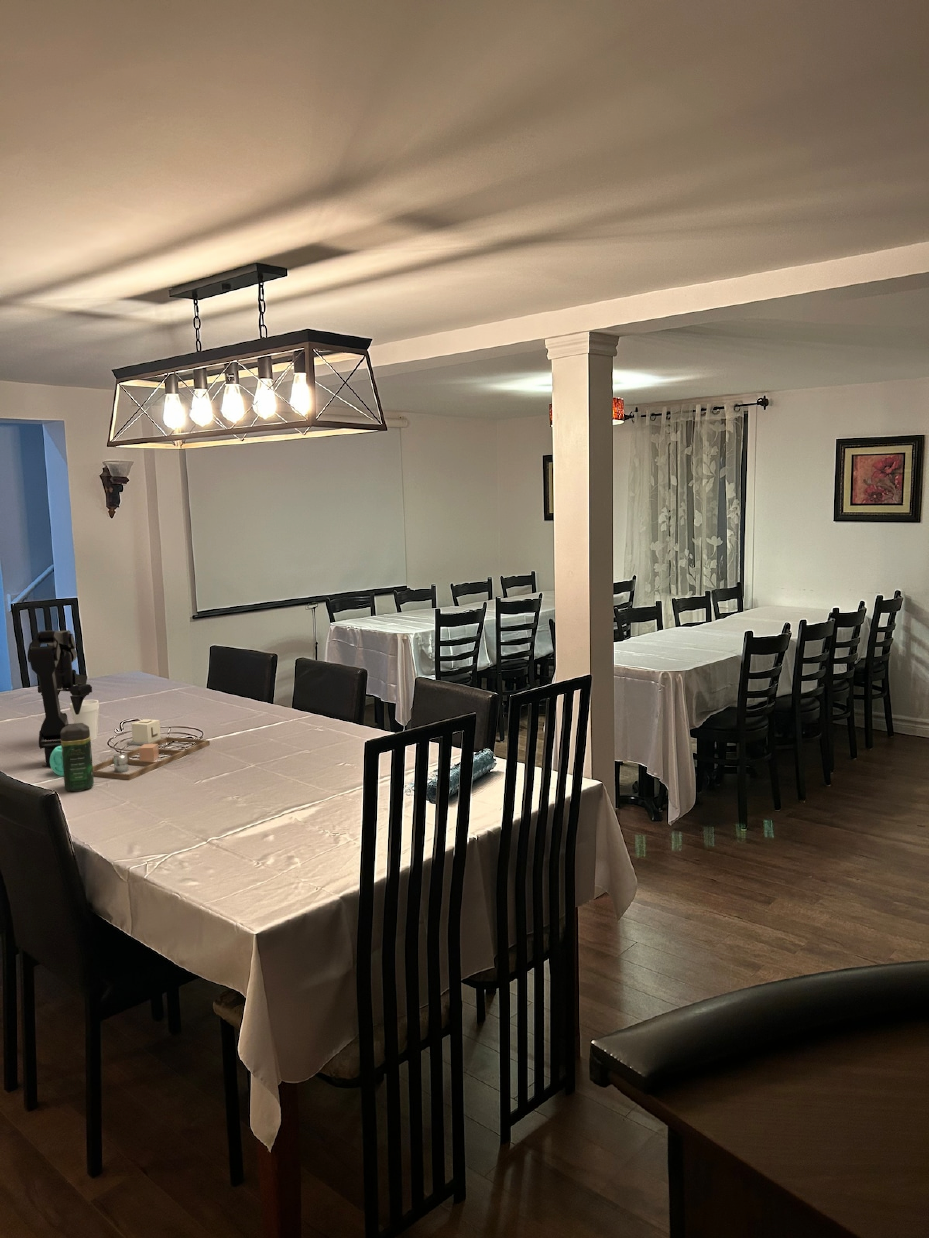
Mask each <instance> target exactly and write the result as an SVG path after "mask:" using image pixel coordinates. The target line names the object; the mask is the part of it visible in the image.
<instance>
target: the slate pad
mask: <svg viewBox="0 0 929 1238" xmlns="http://www.w3.org/2000/svg"><path fill="white" fill-rule="evenodd" d="M163 738H164V737H163V736H162V737H161V739H163ZM158 740H160V739H158ZM158 740H156V741H158ZM153 742H155V741H153ZM153 742H151V743H153ZM144 744H150V743H137V742H133V740H132V741H131V740H130V741H129V742H128V741H127V744H126V745H129V746H139V747H141V746H142V745H144Z"/></svg>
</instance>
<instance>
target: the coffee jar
mask: <svg viewBox="0 0 929 1238" xmlns="http://www.w3.org/2000/svg"><path fill="white" fill-rule="evenodd" d="M60 735H61V739H60V740H61V748H62V760H63V771H64V776H63V785H64V790H65V791H67V792H69V791H71V792H81V791H84V790H88V789H91V788H92V787H93V785H94V776H93V766H94V765H93V754H92V742H91V741H92V740H91V739H90V730H89V726H87V725H85V724H83V723H74V722H73V723H68V725H67V726H66V727H64V728H63V729H62V730H61V733H60Z"/></svg>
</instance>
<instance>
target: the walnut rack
mask: <svg viewBox="0 0 929 1238" xmlns="http://www.w3.org/2000/svg"><path fill="white" fill-rule="evenodd" d="M171 741H178V742H195V743H196V744H194V745H193V746H191V747H188V748H187V749H185V750H184V749H183V750H181V749H178V750H177V749H168V748H167V749H166V748H158V752H159V753H164V754H163V755H167V754H172V755H169V756H168V757H166V758H163V759H161V760H157V761H142V760H140V759H131V757H133V756H136V755H138V754H137V753H139V748H140V747H138V748H136V749H132V750H131V751H127V752H125V754H127V758H128V766H137V767H138V766H139V767H142V768H140V769H138V770H137V769H136V770H135V771H133V772H131V773H115V772H113V771H111V772H110V771H99V770H102V769H104V768H106V767H109V766H111V765H114V758H113V757H112V758H110V759H107V760H105V761H103V762H100V763H97V764H94V765H93V777H95V778H96V777H98V778H106V779H118V780H126V781H130V780H132V779H135V778H138V777H139V776H142V775H145V774H146V773H149V772H151V771H153V770H155V769H158V768H160V767H164V765H167V764H170V763H171V762H172V763H173V762H174V761H176V760H178V759H181V758H183V757H185V756H188V755H189V754H191V753H194V752H197V751H198V750H201V749H203V748H206V747H208V746H210V744H211V743H210V740H206V739H194V738H182V737H171V736H165V737H163V739H160V740H158V741H155V742H153V743H150V744H158V745H159V746H161V745H163V744H162V743H164V744H166V743H172V742H171ZM160 744H161V745H160ZM129 758H130V759H129Z"/></svg>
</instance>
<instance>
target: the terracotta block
mask: <svg viewBox="0 0 929 1238" xmlns="http://www.w3.org/2000/svg"><path fill="white" fill-rule="evenodd" d="M138 748H139V754H138V756H139V760H142V761H153V762H156V760H158V757H159V758H160V754H159V752H158V749H159V746H158V744H144V745H142V746H139V747H138Z"/></svg>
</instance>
